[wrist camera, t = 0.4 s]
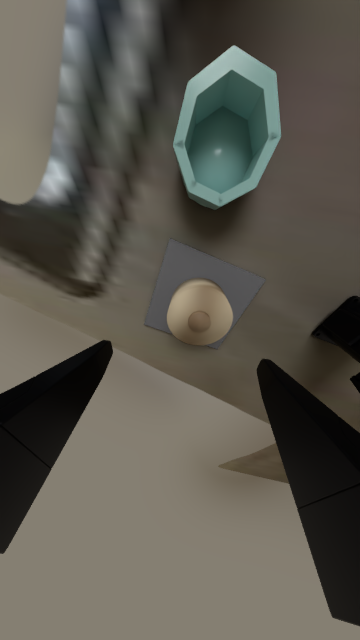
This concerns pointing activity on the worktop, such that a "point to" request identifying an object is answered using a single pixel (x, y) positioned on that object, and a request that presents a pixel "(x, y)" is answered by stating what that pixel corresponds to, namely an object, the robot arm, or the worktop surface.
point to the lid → (199, 312)
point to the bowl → (227, 128)
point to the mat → (197, 264)
